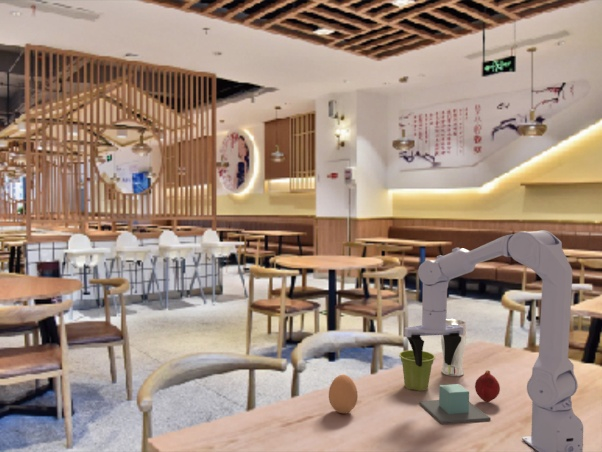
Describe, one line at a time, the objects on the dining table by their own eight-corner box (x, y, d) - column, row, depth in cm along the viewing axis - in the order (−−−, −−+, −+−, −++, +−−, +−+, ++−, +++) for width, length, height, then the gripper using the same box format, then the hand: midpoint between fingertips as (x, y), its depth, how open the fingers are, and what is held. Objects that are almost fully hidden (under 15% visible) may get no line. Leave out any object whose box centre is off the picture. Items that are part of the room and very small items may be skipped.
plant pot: (442, 390, 138) (442, 357, 138) (413, 395, 134) (413, 362, 133) (419, 379, 146) (420, 348, 146) (391, 384, 142) (392, 352, 142)
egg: (323, 409, 125) (324, 372, 124) (349, 405, 127) (349, 369, 127) (335, 420, 118) (336, 381, 118) (362, 416, 121) (362, 378, 120)
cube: (468, 412, 122) (469, 391, 122) (448, 414, 121) (449, 392, 121) (458, 404, 127) (458, 383, 127) (439, 405, 126) (439, 385, 126)
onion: (501, 407, 126) (502, 375, 126) (476, 405, 128) (477, 373, 127) (497, 398, 132) (498, 367, 132) (473, 397, 133) (474, 366, 133)
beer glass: (435, 371, 153) (436, 320, 153) (453, 368, 156) (454, 318, 156) (451, 378, 147) (452, 325, 146) (470, 375, 150) (471, 323, 149)
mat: (490, 420, 119) (490, 417, 119) (441, 424, 117) (441, 421, 117) (464, 400, 131) (464, 398, 131) (419, 403, 129) (419, 401, 129)
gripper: (454, 305, 132) (453, 358, 133) (400, 306, 130) (399, 361, 130) (468, 310, 125) (467, 366, 126) (411, 312, 123) (410, 370, 123)
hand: (433, 364), depth 128 cm, fingers open, 7 cm apart
